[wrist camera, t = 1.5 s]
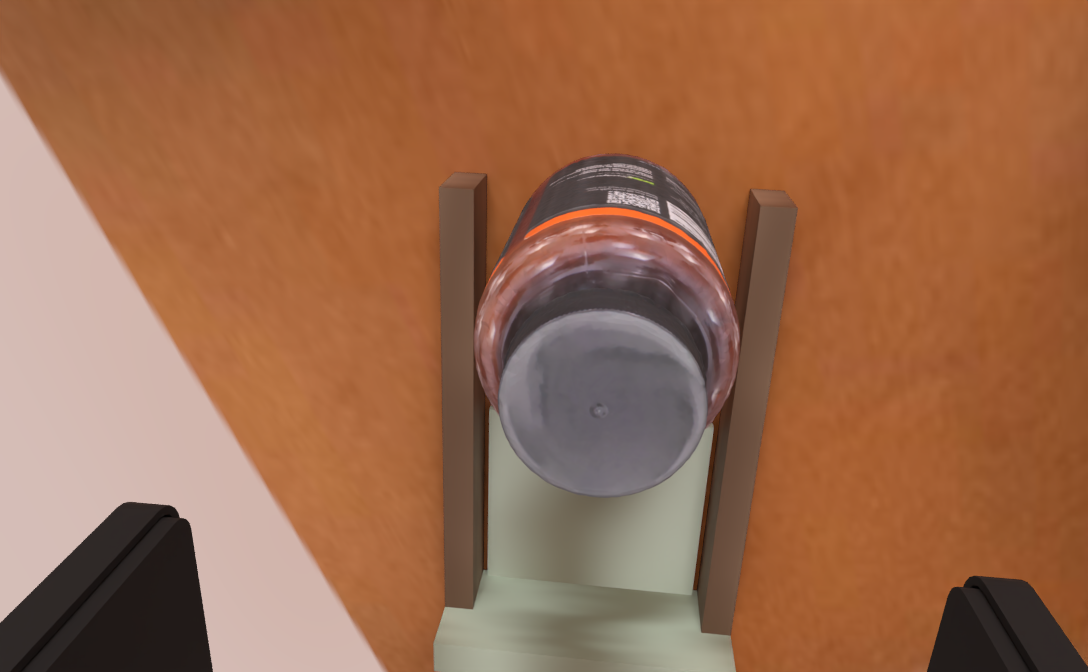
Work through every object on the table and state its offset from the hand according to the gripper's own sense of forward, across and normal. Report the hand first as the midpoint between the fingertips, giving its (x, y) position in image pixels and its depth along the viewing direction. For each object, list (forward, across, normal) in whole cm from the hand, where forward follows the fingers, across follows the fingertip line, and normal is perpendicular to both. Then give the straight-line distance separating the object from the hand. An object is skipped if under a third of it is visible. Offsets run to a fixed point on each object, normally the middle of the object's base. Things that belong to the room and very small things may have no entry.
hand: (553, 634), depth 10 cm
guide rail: (+17, 0, +5) cm, 18 cm away
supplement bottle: (+17, 0, 0) cm, 17 cm away
